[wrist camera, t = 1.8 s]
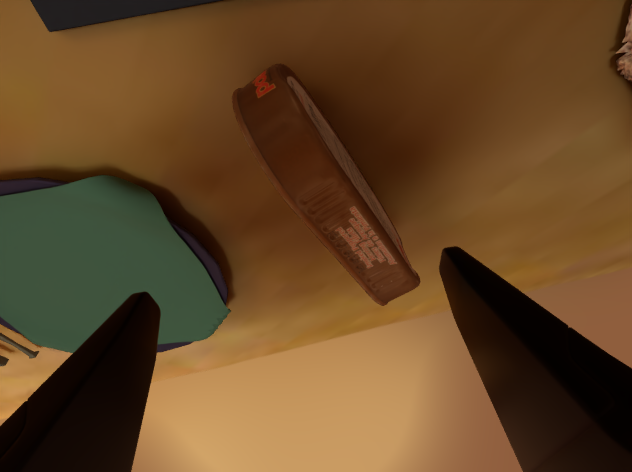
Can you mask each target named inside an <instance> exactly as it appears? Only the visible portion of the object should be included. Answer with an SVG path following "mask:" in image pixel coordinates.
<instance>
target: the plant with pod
mask: <svg viewBox="0 0 632 472" xmlns="http://www.w3.org/2000/svg"><path fill="white" fill-rule="evenodd" d="M628 18H629V23H628V25H627V27H626V36H625V38H624V39H623V41H622V42H626V41H628V42H627V43H626V44H625V45H624V46H623V47H622V48H621V49H620V50H619V51H617V52H616V53H623V52H628V53H626V54H625V55H623V56H622V57H620V58H619V59H617V60H616V62H617V65H618V70H621V69H623V70H622V72H621V74H622V73H623V74H624V79H628V81H629V80H630V79H631V81H632V4H631V6H630V14H629V17H628ZM616 53H615V54H616ZM618 70H617V71H618ZM623 74H622V75H623ZM631 81H630V82H631Z"/></svg>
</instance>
